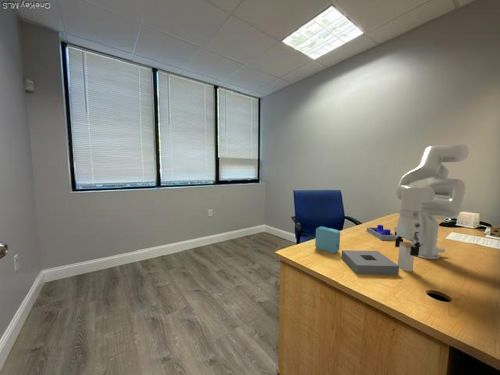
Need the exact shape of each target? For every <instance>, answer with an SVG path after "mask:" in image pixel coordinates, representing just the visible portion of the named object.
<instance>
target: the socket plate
mask: <svg viewBox="0 0 500 375" xmlns="http://www.w3.org/2000/svg"><path fill="white" fill-rule="evenodd" d="M341 259H342V260H343V261H344V262H345V263H346V265H348V266H349V268H350V269H351V270H352V271H353V272H354V273H355V274H356V275H383V276H384V275H385V276H387V275H388V276H390V275H391V276H399V274H400V268H399V266H398V263H396V262H394V261H393V260H391V259H390V258H388V257H387V256H386V255H384V254H383V253H381V252H380V251H378V250H345V249H343V250H341Z"/></svg>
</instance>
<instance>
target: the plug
mask: <svg viewBox="0 0 500 375" xmlns="http://www.w3.org/2000/svg"><path fill="white" fill-rule="evenodd" d="M411 246H412V244H411V241H403V242H400V247H398V248H399V249H398V259H397V265H398V266H399V269H401V270H402V271H408V272H413V270H414V261H415V256H411V255H410V251H411Z"/></svg>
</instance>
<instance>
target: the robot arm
mask: <svg viewBox="0 0 500 375" xmlns="http://www.w3.org/2000/svg"><path fill="white" fill-rule="evenodd" d="M469 151H470V149H469V147H468V145H466V144H465V143H461V144H460V143H459V144H437V145H429V146H428V147H426V148H425V149H424V150H423V152H422V155H421V157H420V159H419V162H418V163H417V166H416V167H415V168H414V169H411V170H410V171H408V172H407V173H405V174H404V175H403V176H402V177H401V178H400V179H399V182H398V183H397V187H396V190H395V196H396V198H397V199H398V200H400V208H399V209H400V210H399V216H398V219H397V225H396V227H393V230H394V235H395V238H396V240H395V243H394V247H395V248H399V247H400V242H404V240H407V241H408V242H410V243H411V244H412V246H411V251H410V255H411V256H414V257H418V258H422V259H427V260H439V259H440V254H439V253H442V254H444V253H446V250H445V248H439V247H437V244H438V237H439V227H440V225H439V224H440V223H439V221H438V219H437V218H436V217H435V216H438V217H445V218H450V219H453V218H457V217H458V216H460V214H461V210H462V207H463V206H462V205H463V202H464V198H465V193H466V184H465V182H464V180H462V179H459V178H448V177H449V169H448V168H447V166H445V165H444V164H443V163H460V162H461V163H462V162H464V161H466V159H467V158H468V156H469ZM422 180H424V184H423V185H411V184H412V183H415V182H418V181H422Z"/></svg>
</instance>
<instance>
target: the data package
mask: <svg viewBox="0 0 500 375" xmlns="http://www.w3.org/2000/svg"><path fill="white" fill-rule="evenodd" d="M340 243H341V232H340V230H338V229H335V228H330V227H326V226H319V227H317V228H316V229H315V243H314V244H315V248H316V249H318V250H321V251H325V252H328V253H331V254H336V253H338V252H339V251H340V245H341V244H340Z"/></svg>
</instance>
